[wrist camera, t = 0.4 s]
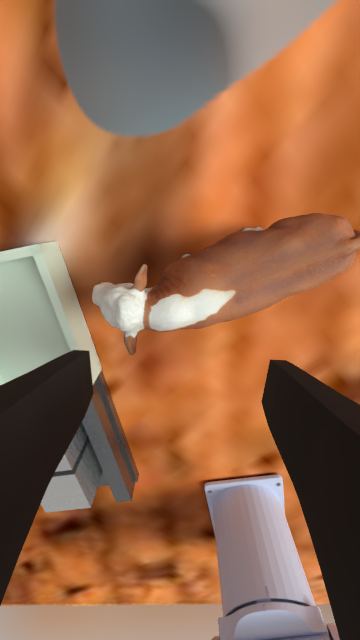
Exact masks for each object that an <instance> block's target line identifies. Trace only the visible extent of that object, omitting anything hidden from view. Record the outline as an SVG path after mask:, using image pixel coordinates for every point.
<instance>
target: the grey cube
mask: <svg viewBox="0 0 360 640" xmlns="http://www.w3.org/2000/svg"><path fill="white" fill-rule="evenodd" d="M102 472H103V470H102V468H101V465H100V463H99V461H98V458H97V456H96V454H95V451H94V449H93V447H92V444H91V442H90V440H89V437H88V436H87V438H86V441H85V443H84V445H83V447H82V449H81V452H80V454H79V456H78V458H77V460H76V463H75V465H74V467H73V469H72V470H67V471H58V472H55V473H54V475H53V477H52V479H51V481H50V483H49V485H48V487H47V490H46V492H45V494H44V497H43V499H42V501H41V505H42V507H43V509H44V510H45V512H55V511H64V510H73V509H83V508H91V506H92V503H93V500H94V496H95V493H96V490H97V487H98V484H99V481H100V478H101V475H102Z"/></svg>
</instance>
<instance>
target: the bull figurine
mask: <svg viewBox="0 0 360 640" xmlns="http://www.w3.org/2000/svg"><path fill="white" fill-rule="evenodd" d="M359 249H360V231H357V230H354V229H352V226H351V225H350V223H349V221H348V220H346V219H345V218H343V217H340V216H334V215H327V214H321V213H312V214H308V215H301V216H296V217H290V218H284V219H281V220H279V221H277V222H275V223H273V224H272V225H271V226H270V227H269V228H267V229H262V228H261V227H257V228H244V229H242V230H241V231H240V232H236V233H233V234H231V235H228V236H226V237H225V238H223V239H221V240H220V241H218V242H217V243H215V244H213V245H211V246H209V247H207V248H204V249H202V250H200V251H198V252H196V253H194V254H191V255H190V254H184V255H182V257H181V259H179V260H177V261H175V262H173V263H171V264H170V265H168V266H167V267H166V268H165V269H164V271H163V272H162V274H161V277H160V281H159V283H158V284H157V285H155V286H152V287H151V288H145V287H146V285H147V265H146V264H143V265H142V267H141V268H140V270H139V271H138V273H137V275H136V276H135V281H134V284H132V283H121V284H117V285H114V284H112V283H109V282H102V283H100V284H98V285H95V286H94V289H93V294H92V301H93V303H94V304H96V305H97V306H99V307H100V309H101V312H102V315H103V317H104V319H105V320H106V321H107V322H108V323H109V324H110V325H111V326H113V327H116V328H119V329H120V330H121V331H125V334H124V342H125V345H126V348H127V350H128V352H129V353H130V354H131V355H134V354H135V352H136V341H137V332H138V331H140V330H142V329H149V330H153V331H160V332H169V331H174V330H177V329H199V328H204V327H208V326H211V325H214V324H216V323H219V322H225V321H231V320H234V319H237V318H240V317H243V316H246V315H249V314H252V313H255V312H258V311H261V310H263V309H265V308H267V307H269V306H271V305H273V304H275V303H277V302H279V301H281V300H283V299H285V298H287V297H289V296H291V295H294V294H298V293H301V292H303V291H306V290H309V289H312V288H315V287H317V286H320V285H322V284H324V283H326V282H328V281H330V280H332V279H334V278H336V277H337V276H339V275H340V274H342V273H343V272H345V271H346V270H347V269H348V268H349V267H350V266H351V265H352V264H353V262H354V260H355V258H356V251H357V250H359Z"/></svg>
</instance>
